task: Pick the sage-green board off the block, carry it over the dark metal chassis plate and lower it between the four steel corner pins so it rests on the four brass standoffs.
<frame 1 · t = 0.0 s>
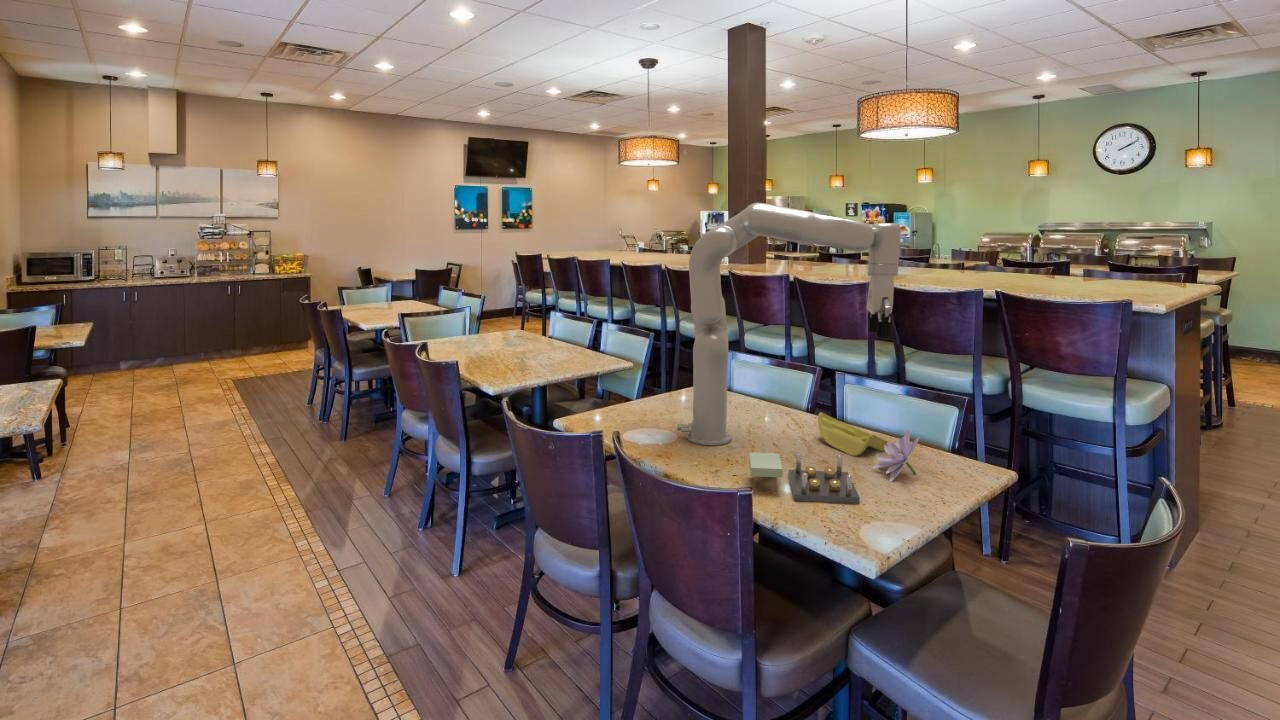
hand: (878, 334, 184), 31 cm above the table, tool pointing down, fingers open, 9 cm apart
water lily: (893, 474, 169), on the table
chassis: (821, 488, 158), on the table
block: (764, 484, 161), on the table
board: (765, 468, 160), point 4 cm above the table, touching block
plastic component: (849, 446, 191), on the table
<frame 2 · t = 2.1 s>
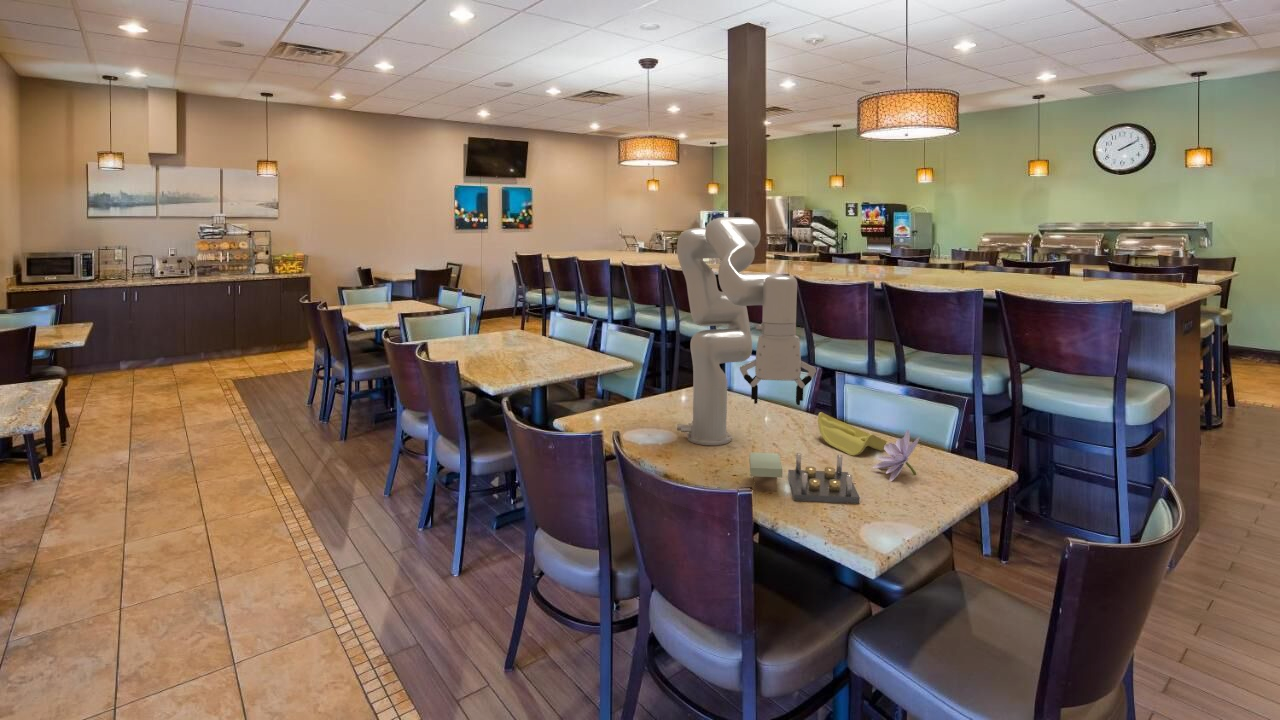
hand: (776, 403, 159), 19 cm above the table, tool pointing down, fingers open, 9 cm apart
nothing on the table moved.
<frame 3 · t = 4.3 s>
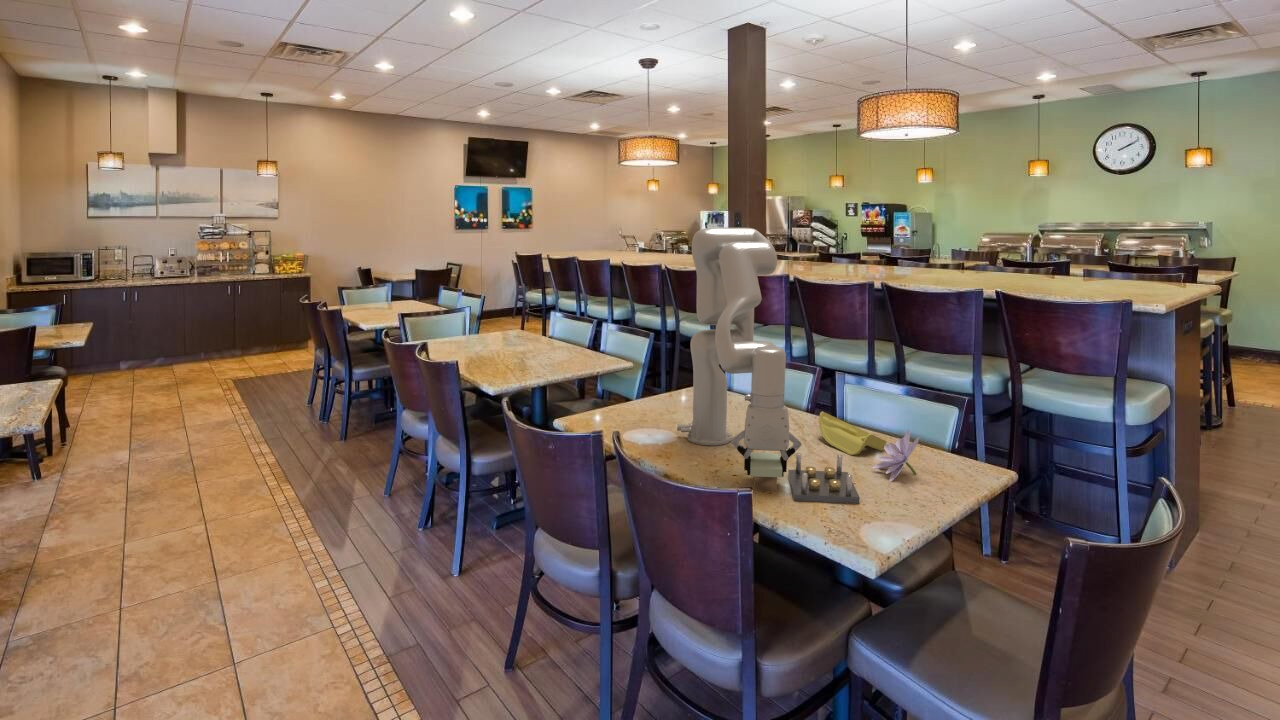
hand: (765, 473, 160), 3 cm above the table, tool pointing down, fingers closed on board, 7 cm apart
board: (765, 468, 160), point 4 cm above the table, touching gripper, block
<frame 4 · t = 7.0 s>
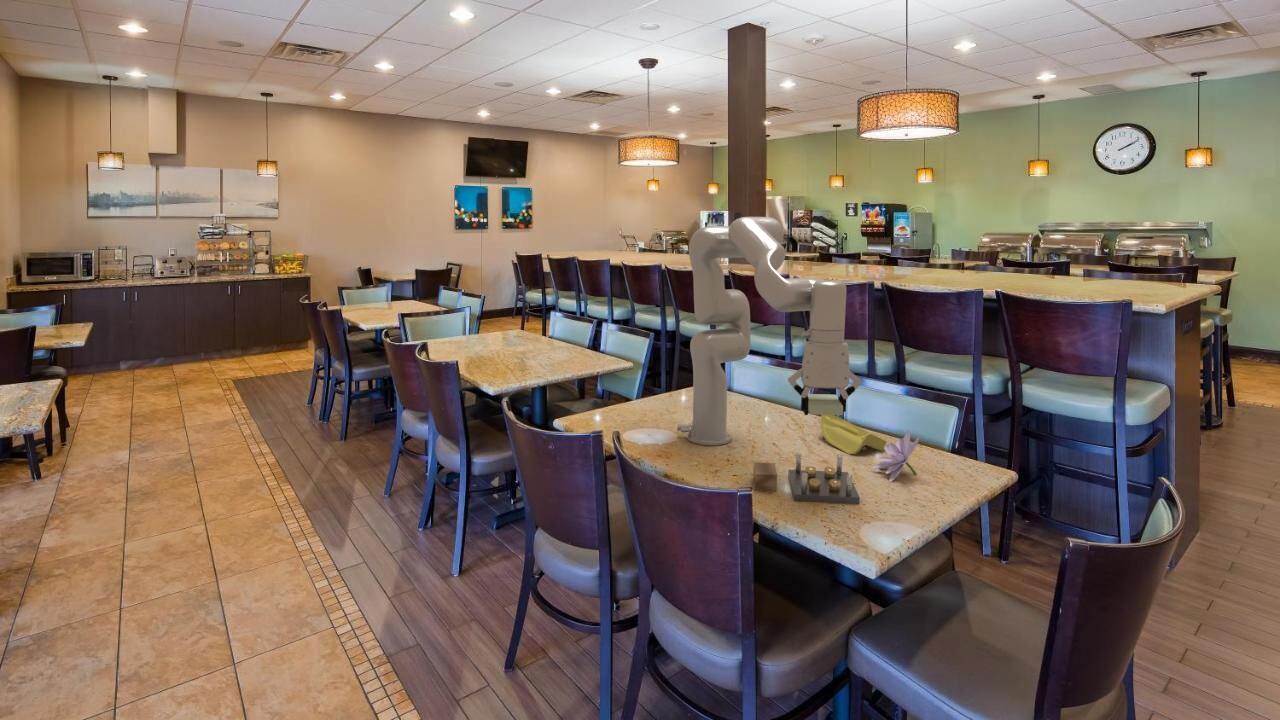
hand: (822, 413, 155), 18 cm above the table, tool pointing down, fingers closed on board, 7 cm apart
board: (823, 408, 155), point 19 cm above the table, touching gripper
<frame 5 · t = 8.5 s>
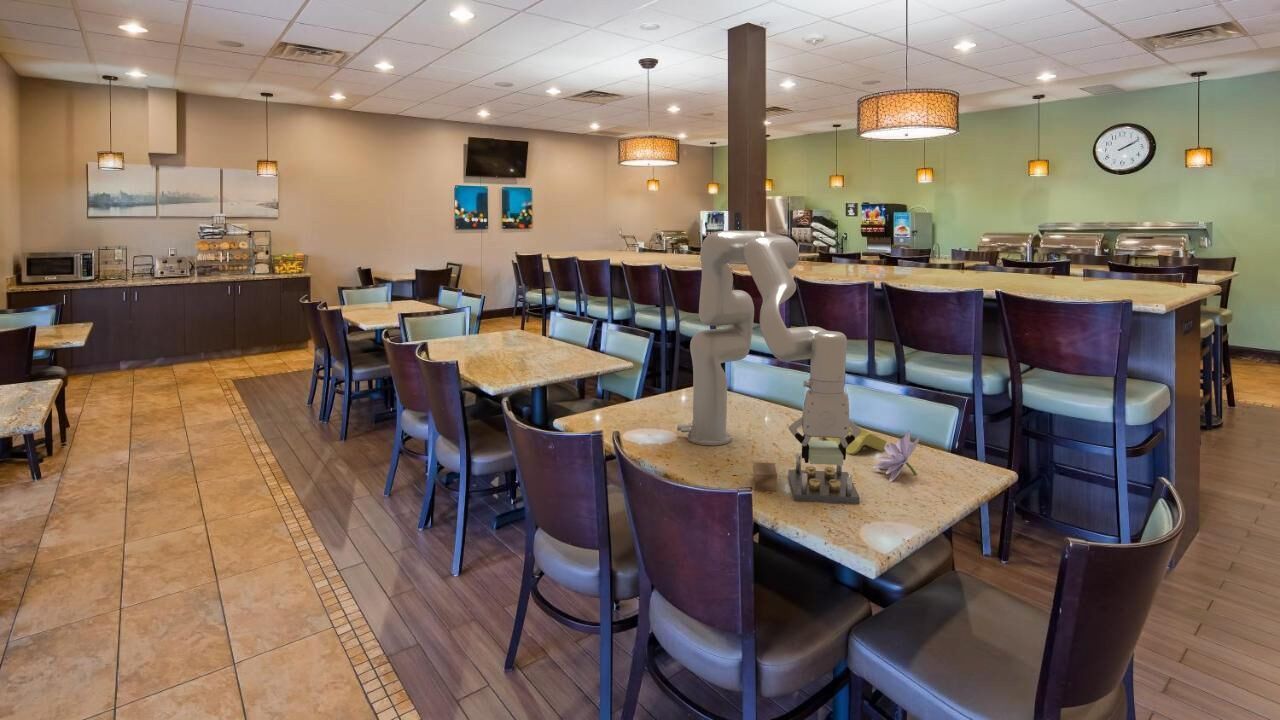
hand: (823, 461, 157), 7 cm above the table, tool pointing down, fingers closed on board, 7 cm apart
board: (823, 456, 157), point 8 cm above the table, touching gripper
when the fingers open (4 cm above the table, at t = 9.6 s): board drops 1 cm, resting on chassis.
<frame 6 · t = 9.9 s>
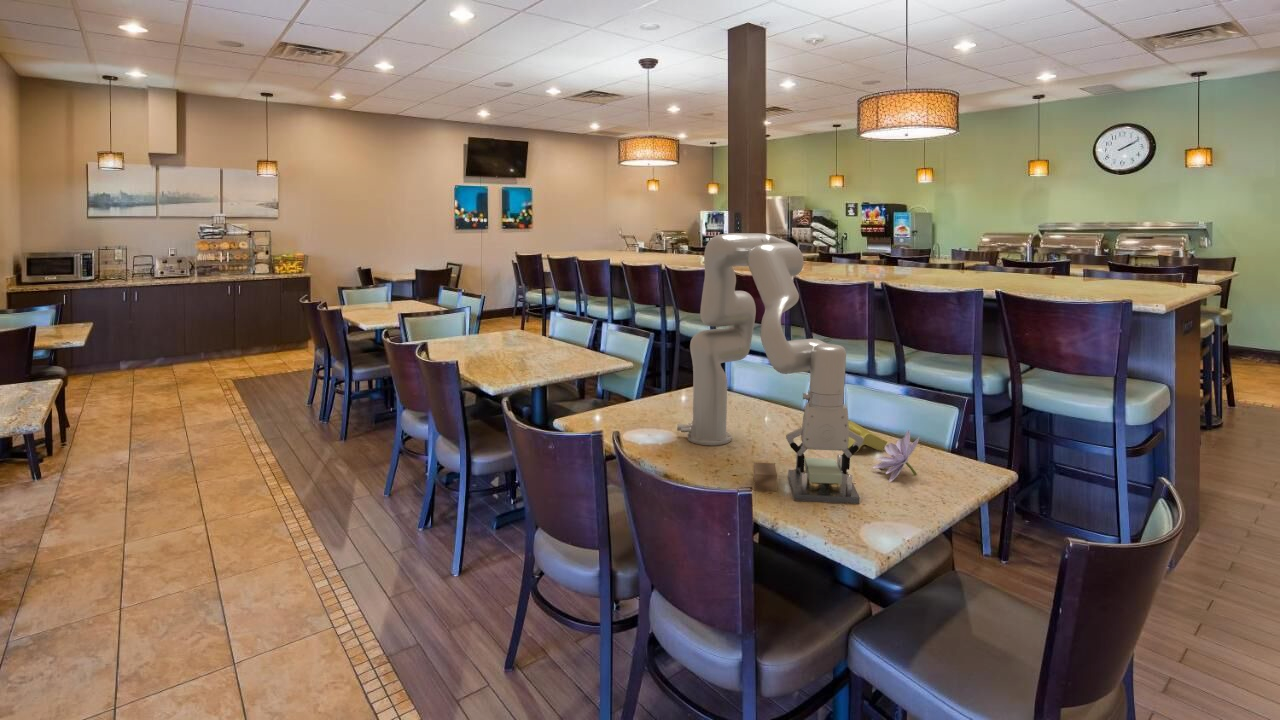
hand: (822, 471, 157), 4 cm above the table, tool pointing down, fingers open, 9 cm apart
board: (822, 474, 158), point 3 cm above the table, touching chassis
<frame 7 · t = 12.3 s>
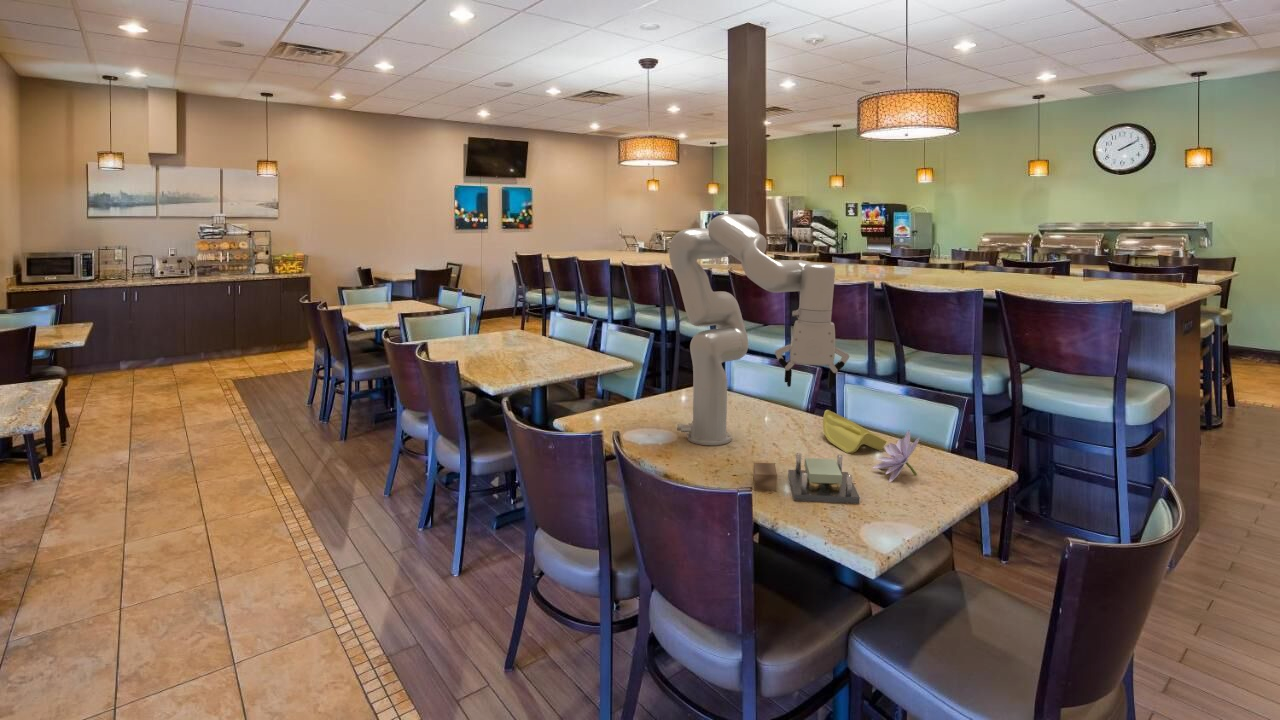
hand: (809, 386, 165), 22 cm above the table, tool pointing down, fingers open, 9 cm apart
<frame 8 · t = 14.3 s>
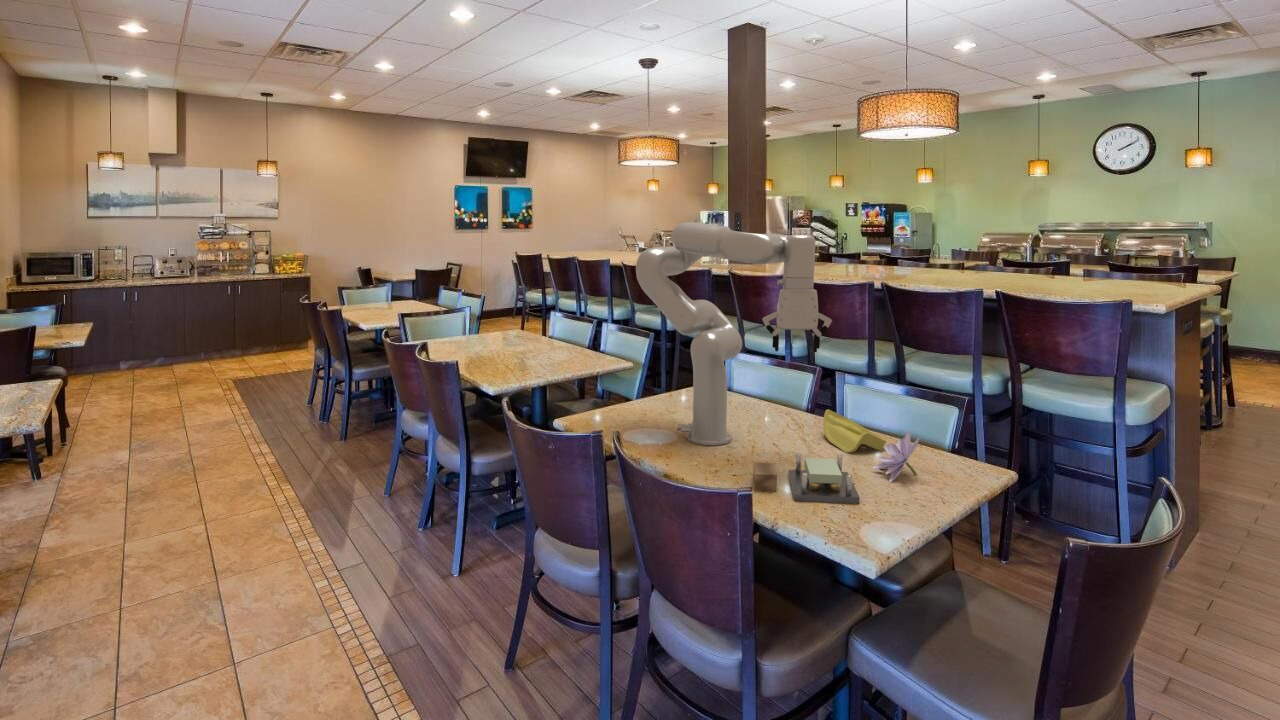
hand: (795, 350, 176), 28 cm above the table, tool pointing down, fingers open, 9 cm apart
at the end: board 0.0 cm off-centre on the chassis, point 3.5 cm above the chassis's base; board tilted 0°; the gripper is holding nothing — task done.
